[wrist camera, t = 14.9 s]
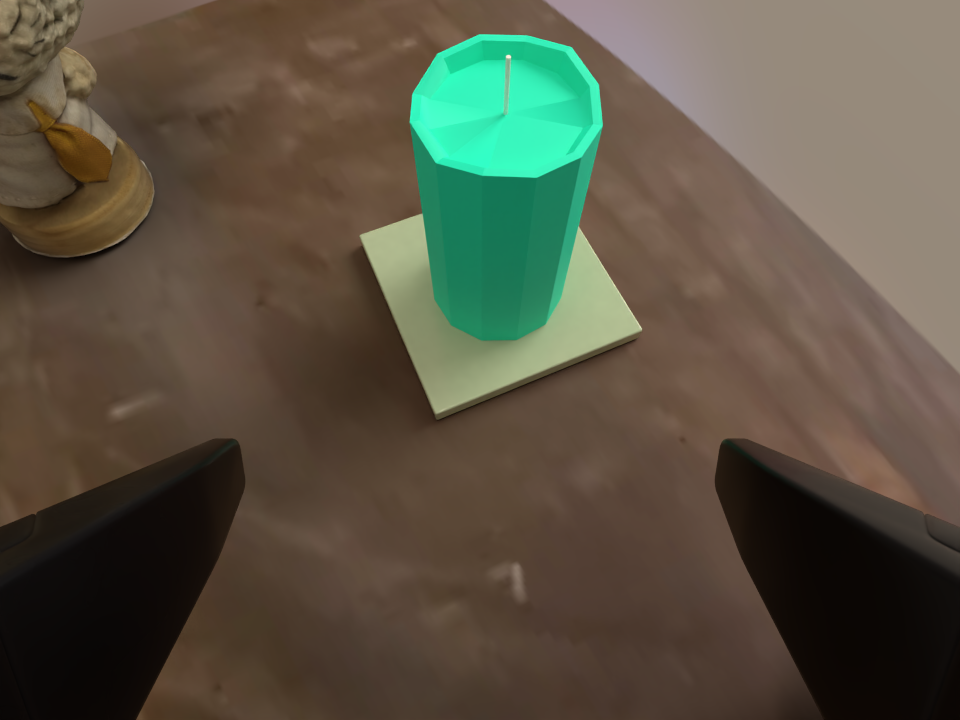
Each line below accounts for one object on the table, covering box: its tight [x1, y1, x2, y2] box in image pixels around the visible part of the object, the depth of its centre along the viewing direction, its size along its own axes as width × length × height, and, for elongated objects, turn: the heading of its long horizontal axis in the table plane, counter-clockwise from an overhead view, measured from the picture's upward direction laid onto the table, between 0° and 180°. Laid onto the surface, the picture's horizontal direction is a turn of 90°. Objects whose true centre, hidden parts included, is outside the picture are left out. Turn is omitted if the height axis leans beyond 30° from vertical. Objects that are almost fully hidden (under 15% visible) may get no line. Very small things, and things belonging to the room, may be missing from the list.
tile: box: [359, 213, 642, 420], centre depth 28 cm, size 10×10×1 cm
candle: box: [410, 34, 603, 341], centre depth 22 cm, size 6×6×12 cm
